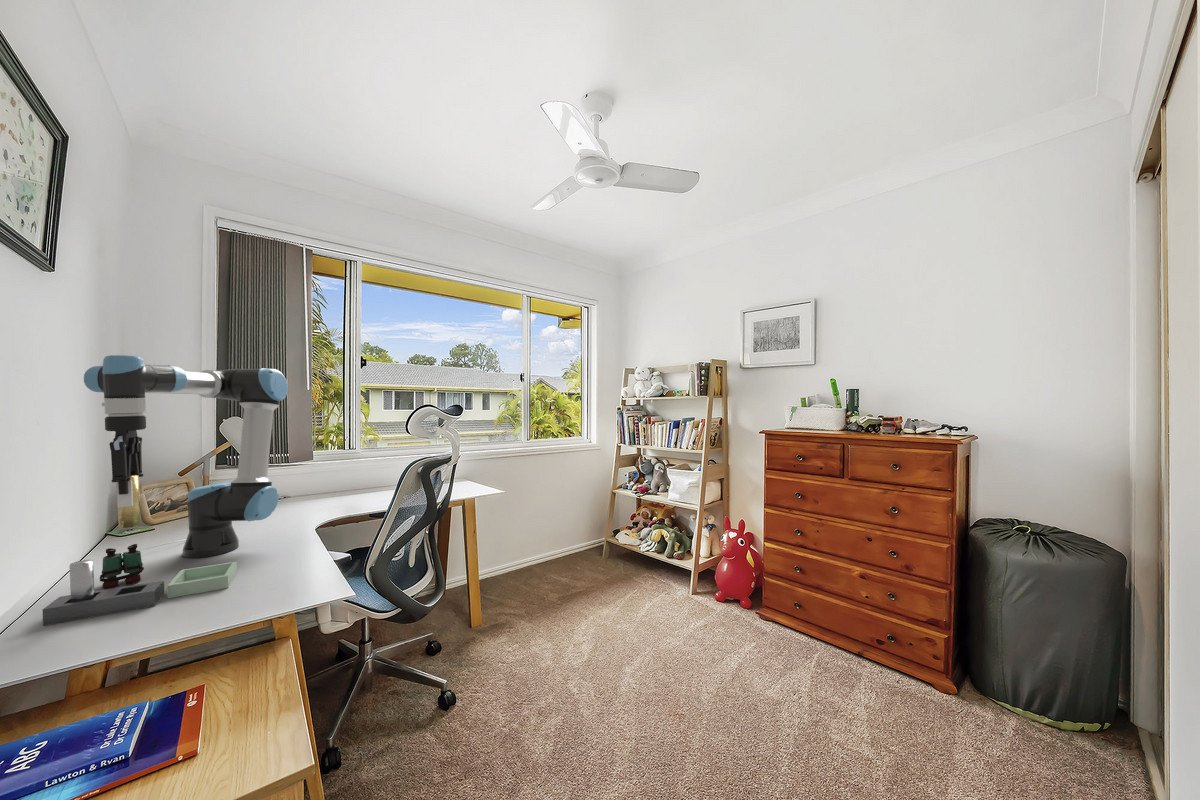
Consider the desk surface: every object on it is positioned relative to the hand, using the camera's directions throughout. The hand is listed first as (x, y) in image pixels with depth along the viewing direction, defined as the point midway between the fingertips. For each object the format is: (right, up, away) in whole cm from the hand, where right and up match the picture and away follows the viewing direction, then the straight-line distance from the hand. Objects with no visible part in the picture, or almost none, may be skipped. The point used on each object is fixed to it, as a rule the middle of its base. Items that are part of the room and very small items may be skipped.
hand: (128, 504), depth 122 cm
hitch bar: (-4, -27, -2) cm, 27 cm away
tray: (+9, -26, +13) cm, 31 cm away
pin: (-8, -27, -4) cm, 28 cm away
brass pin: (0, -6, 0) cm, 6 cm away
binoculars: (-16, -27, +14) cm, 34 cm away
